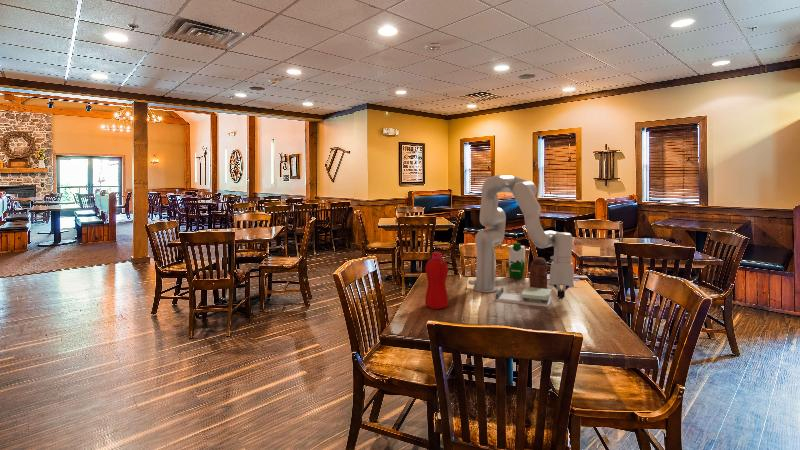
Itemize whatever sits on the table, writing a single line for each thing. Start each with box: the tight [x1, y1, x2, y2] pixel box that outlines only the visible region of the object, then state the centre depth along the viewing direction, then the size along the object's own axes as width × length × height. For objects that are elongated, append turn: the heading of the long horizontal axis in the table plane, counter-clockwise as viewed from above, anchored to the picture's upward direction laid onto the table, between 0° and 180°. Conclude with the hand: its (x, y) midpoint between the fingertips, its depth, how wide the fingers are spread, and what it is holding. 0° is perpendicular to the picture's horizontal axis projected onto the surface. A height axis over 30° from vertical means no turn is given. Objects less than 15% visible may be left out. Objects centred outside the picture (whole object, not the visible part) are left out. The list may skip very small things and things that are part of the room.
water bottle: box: [424, 251, 449, 310], centre depth 201 cm, size 9×11×25 cm
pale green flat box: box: [520, 286, 552, 303], centre depth 209 cm, size 12×14×3 cm
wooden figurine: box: [529, 256, 548, 289], centre depth 224 cm, size 12×6×18 cm, turn 18°
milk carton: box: [508, 242, 526, 279], centre depth 258 cm, size 9×9×20 cm
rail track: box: [494, 287, 552, 308], centre depth 212 cm, size 24×13×3 cm, turn 66°
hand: (560, 298), depth 205 cm, fingers closed
